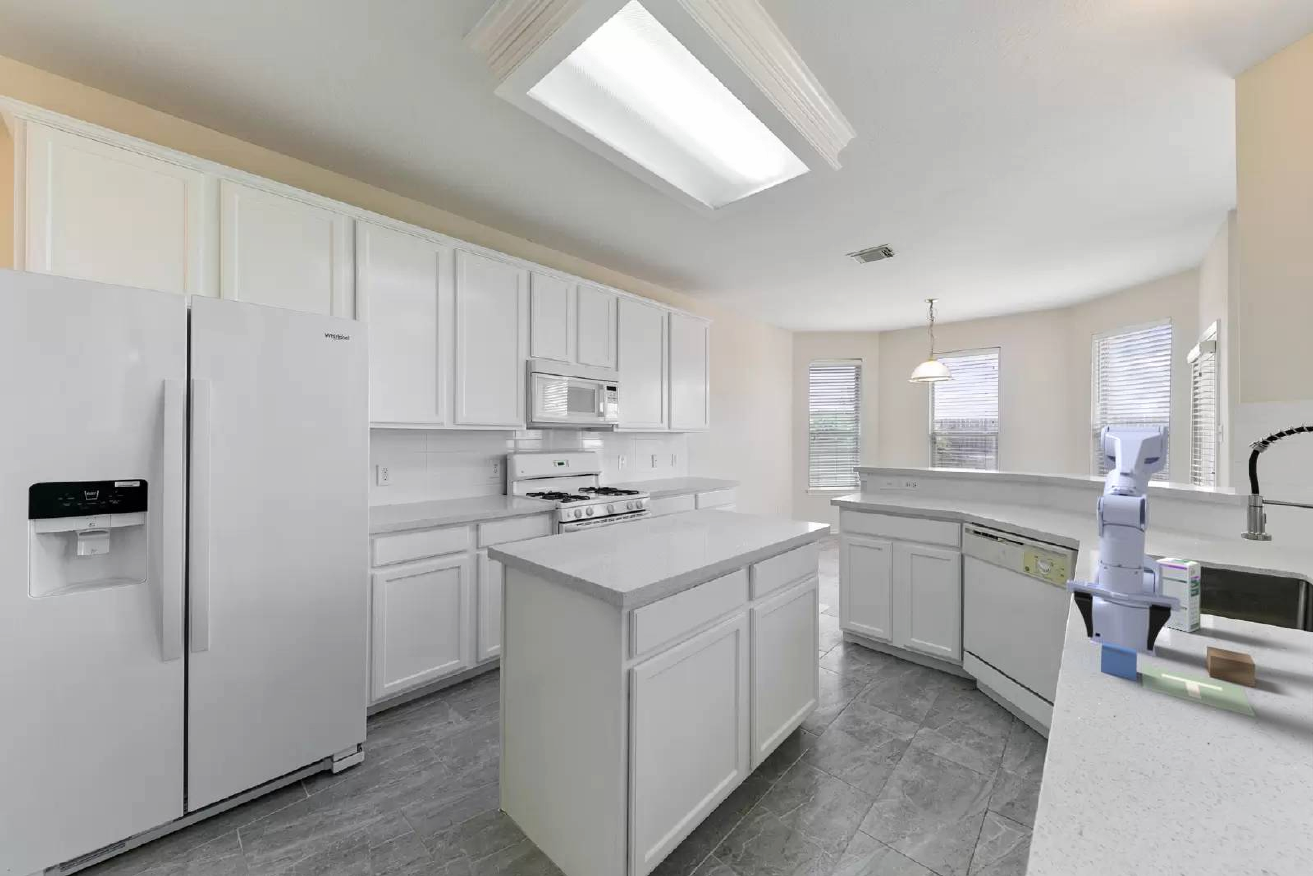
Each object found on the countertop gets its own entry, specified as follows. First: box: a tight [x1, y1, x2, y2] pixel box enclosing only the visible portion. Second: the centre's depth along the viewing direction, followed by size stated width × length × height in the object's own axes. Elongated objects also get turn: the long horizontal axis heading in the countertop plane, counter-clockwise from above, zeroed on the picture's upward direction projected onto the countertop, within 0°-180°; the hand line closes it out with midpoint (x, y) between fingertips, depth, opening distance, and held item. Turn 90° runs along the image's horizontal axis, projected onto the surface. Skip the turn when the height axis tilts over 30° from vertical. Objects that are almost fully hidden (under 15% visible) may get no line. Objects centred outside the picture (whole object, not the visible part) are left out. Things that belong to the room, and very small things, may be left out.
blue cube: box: [1100, 642, 1138, 681], centre depth 89 cm, size 4×4×4 cm
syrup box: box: [1155, 556, 1202, 633], centre depth 111 cm, size 6×6×14 cm
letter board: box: [1141, 663, 1256, 718], centre depth 84 cm, size 12×12×1 cm
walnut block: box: [1206, 646, 1256, 688], centre depth 87 cm, size 5×5×4 cm
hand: (1119, 642), depth 89 cm, fingers open, 7 cm apart
